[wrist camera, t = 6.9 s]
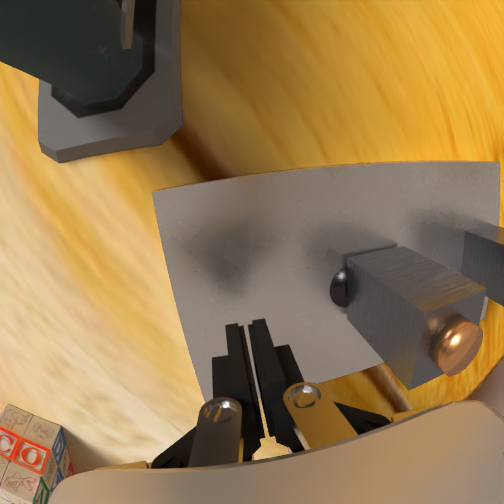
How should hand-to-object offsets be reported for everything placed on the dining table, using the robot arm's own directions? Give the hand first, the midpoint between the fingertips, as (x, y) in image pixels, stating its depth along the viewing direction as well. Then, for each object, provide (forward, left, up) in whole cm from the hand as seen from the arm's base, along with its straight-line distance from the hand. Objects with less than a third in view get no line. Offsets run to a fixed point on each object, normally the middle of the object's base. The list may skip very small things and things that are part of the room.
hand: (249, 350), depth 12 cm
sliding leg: (-8, 0, -4) cm, 9 cm away
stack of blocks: (+24, +19, -6) cm, 31 cm away
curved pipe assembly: (+4, -27, -6) cm, 28 cm away
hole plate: (-9, 0, -6) cm, 11 cm away
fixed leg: (-19, 0, -4) cm, 19 cm away
